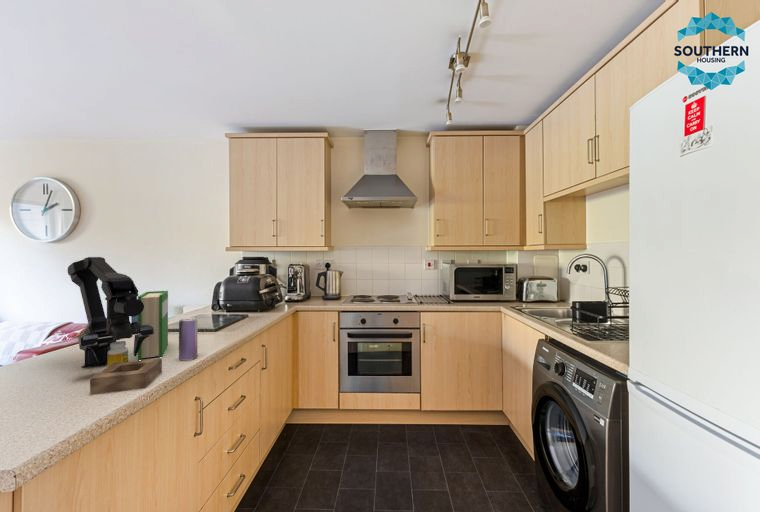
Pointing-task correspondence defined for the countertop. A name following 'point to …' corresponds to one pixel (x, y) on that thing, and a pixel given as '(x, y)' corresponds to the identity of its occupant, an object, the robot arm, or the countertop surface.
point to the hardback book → (154, 323)
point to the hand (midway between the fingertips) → (117, 359)
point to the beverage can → (188, 338)
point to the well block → (126, 376)
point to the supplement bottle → (117, 353)
